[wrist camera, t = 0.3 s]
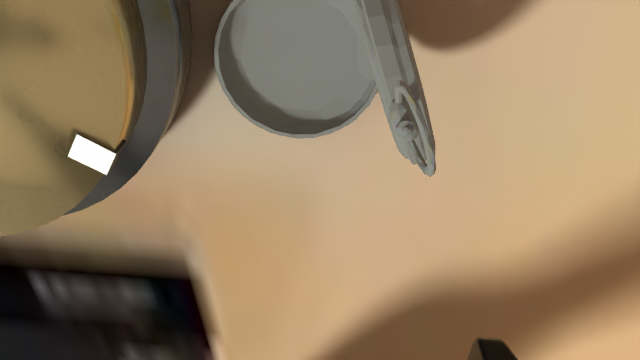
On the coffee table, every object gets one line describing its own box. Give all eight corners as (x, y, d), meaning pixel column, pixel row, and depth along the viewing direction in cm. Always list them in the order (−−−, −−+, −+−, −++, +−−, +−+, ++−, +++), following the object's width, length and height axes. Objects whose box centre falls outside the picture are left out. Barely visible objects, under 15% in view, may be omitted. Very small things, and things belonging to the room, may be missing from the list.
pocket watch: (188, 68, 22) (89, 205, 13) (309, -119, 18) (279, -95, 9) (343, 173, 24) (344, 347, 16) (478, 28, 20) (576, 151, 12)
